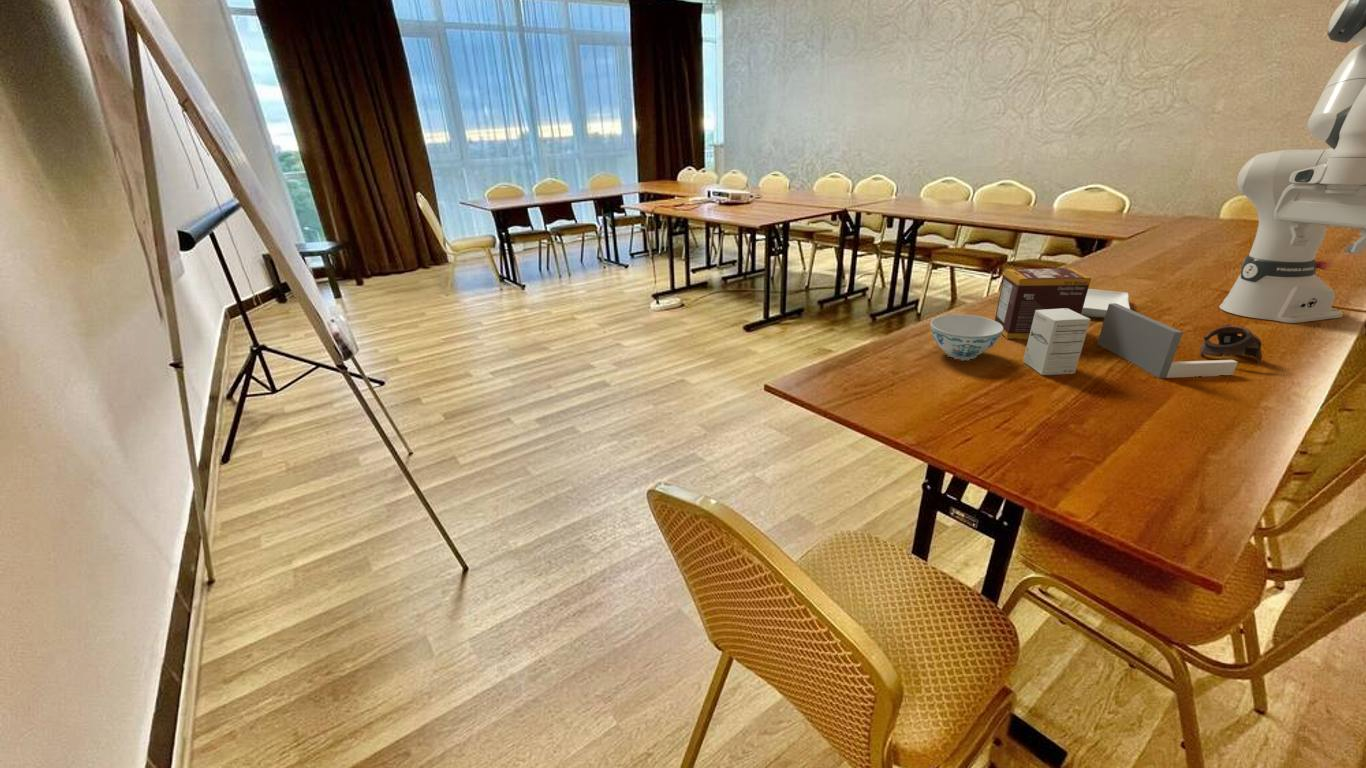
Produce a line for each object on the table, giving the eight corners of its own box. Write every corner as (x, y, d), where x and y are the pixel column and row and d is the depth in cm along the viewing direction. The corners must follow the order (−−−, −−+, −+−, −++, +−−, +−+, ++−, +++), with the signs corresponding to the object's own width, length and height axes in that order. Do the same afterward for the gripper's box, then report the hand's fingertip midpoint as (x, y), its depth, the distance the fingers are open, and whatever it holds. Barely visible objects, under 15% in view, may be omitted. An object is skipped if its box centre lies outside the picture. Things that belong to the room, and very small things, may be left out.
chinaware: (1004, 351, 124) (1011, 321, 121) (985, 373, 114) (992, 340, 111) (939, 339, 134) (943, 310, 130) (916, 358, 124) (920, 328, 121)
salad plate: (1038, 295, 161) (1040, 284, 160) (1125, 302, 150) (1128, 291, 148) (1031, 314, 146) (1034, 303, 145) (1127, 325, 135) (1131, 312, 133)
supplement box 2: (1021, 362, 118) (1033, 309, 113) (1055, 360, 118) (1069, 307, 112) (1040, 375, 111) (1054, 320, 106) (1076, 374, 111) (1092, 318, 106)
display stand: (1159, 341, 123) (1173, 300, 119) (1232, 375, 106) (1252, 329, 101) (1097, 343, 124) (1109, 303, 120) (1158, 377, 107) (1175, 332, 103)
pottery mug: (1272, 371, 107) (1267, 341, 104) (1209, 382, 113) (1202, 354, 110) (1251, 338, 115) (1245, 309, 112) (1193, 350, 121) (1186, 322, 118)
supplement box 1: (1075, 339, 127) (1092, 277, 121) (1006, 339, 131) (1019, 278, 124) (1057, 325, 137) (1072, 267, 130) (992, 325, 140) (1004, 268, 133)
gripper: (1451, 174, 87) (1408, 257, 92) (1312, 172, 106) (1284, 241, 111) (1414, 176, 87) (1373, 259, 92) (1282, 173, 106) (1255, 242, 111)
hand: (1323, 249), depth 102 cm, fingers open, 8 cm apart
